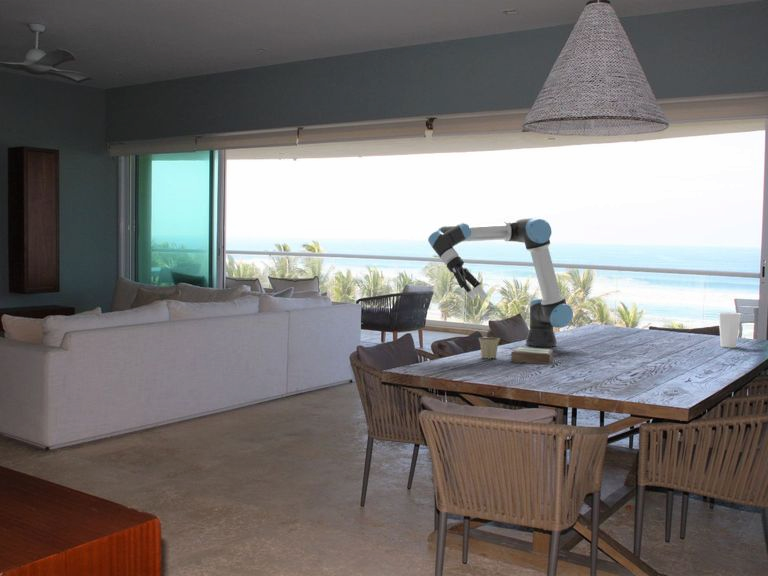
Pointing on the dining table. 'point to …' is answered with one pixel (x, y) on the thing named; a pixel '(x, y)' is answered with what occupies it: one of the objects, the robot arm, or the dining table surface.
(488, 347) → the flower pot
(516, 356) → the brown flat square box
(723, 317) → the cup
